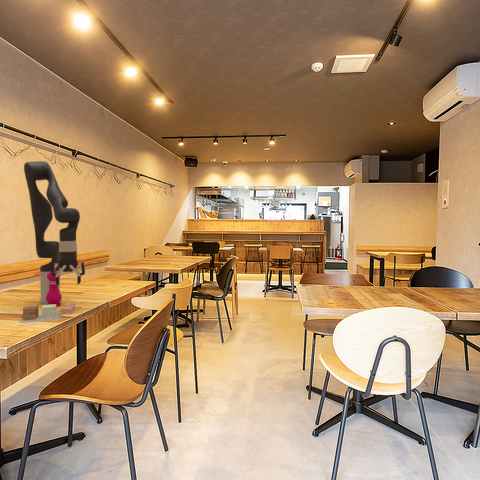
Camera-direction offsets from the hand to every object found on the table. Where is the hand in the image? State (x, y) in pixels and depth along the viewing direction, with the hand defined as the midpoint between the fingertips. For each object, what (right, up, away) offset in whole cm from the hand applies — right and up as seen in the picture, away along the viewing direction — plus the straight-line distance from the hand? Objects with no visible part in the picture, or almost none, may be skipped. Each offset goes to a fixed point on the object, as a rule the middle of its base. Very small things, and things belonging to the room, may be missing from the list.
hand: (68, 284), depth 160 cm
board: (-6, -14, -12) cm, 19 cm away
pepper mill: (-14, -14, +13) cm, 24 cm away
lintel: (0, -14, +1) cm, 14 cm away
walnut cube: (-10, -13, -13) cm, 21 cm away
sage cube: (-3, -13, -10) cm, 17 cm away
